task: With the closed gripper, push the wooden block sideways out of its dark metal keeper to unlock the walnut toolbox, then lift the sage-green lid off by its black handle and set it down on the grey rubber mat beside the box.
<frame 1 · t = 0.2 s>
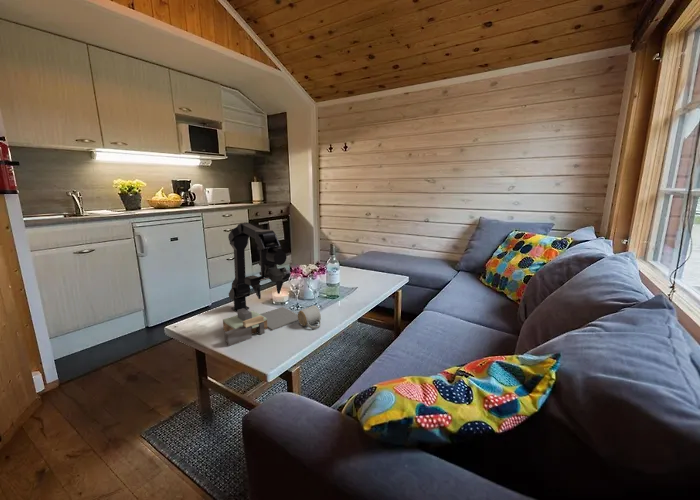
hand: (269, 296, 136), 14 cm above the table, fingers open, 9 cm apart
ceramic mug: (311, 325, 142), on the table
toolbox lid: (245, 320, 136), point 4 cm above the table, touching toolbox
toolbox: (245, 329, 137), on the table
wooden block: (253, 321, 131), point 6 cm above the table, slide at 0.0 cm
rubber mat: (277, 318, 148), on the table
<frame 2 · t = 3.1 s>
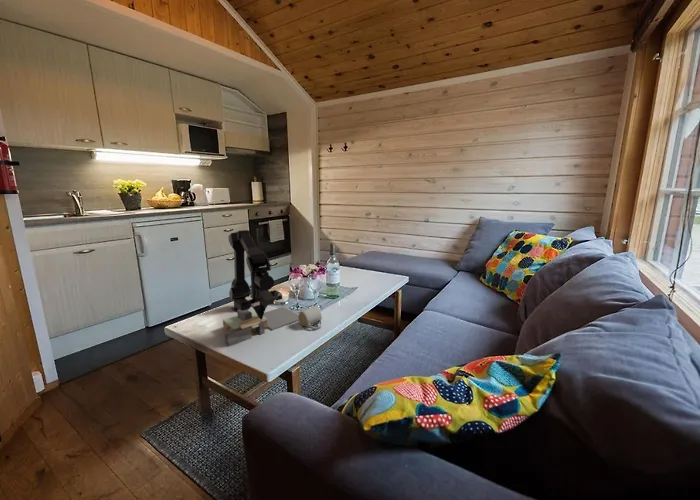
hand: (260, 319, 133), 6 cm above the table, fingers closed
wooden block: (249, 322, 129), point 6 cm above the table, slide at 1.6 cm, touching gripper
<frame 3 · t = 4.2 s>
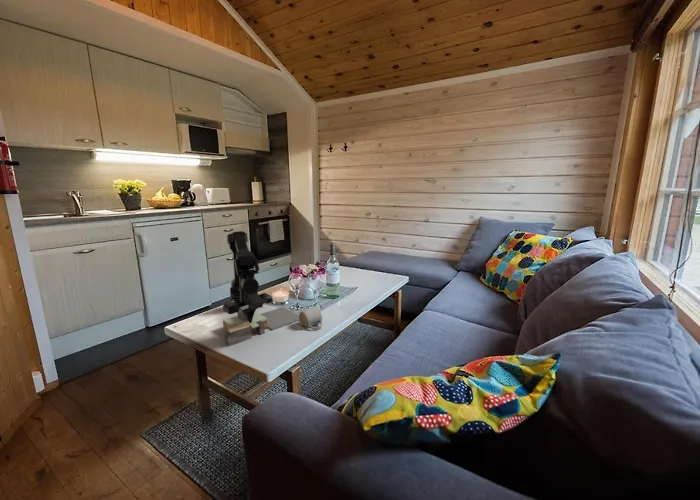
hand: (249, 322, 129), 6 cm above the table, fingers closed
wooden block: (238, 326, 126), point 6 cm above the table, slide at 6.5 cm, touching gripper
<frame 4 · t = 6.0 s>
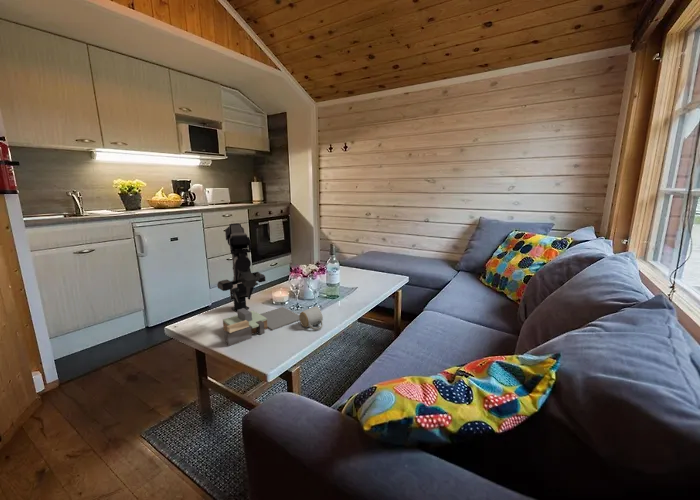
hand: (243, 300, 134), 13 cm above the table, fingers open, 4 cm apart
wooden block: (238, 326, 126), point 6 cm above the table, slide at 6.6 cm
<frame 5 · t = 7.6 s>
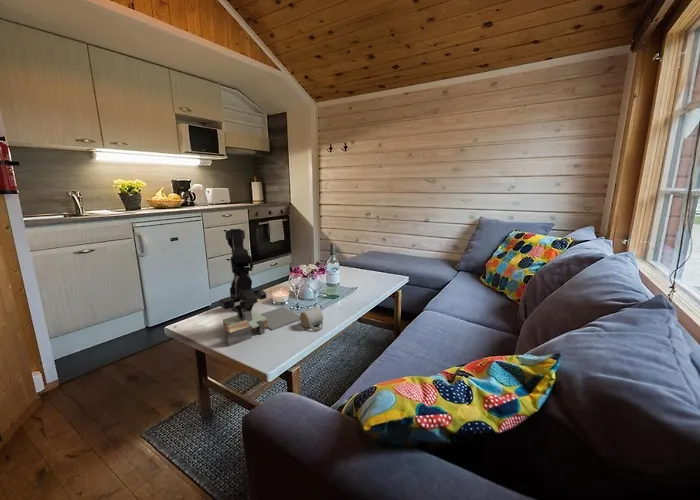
hand: (244, 317, 136), 5 cm above the table, fingers closed on toolbox lid, 3 cm apart
toolbox lid: (245, 320, 136), point 4 cm above the table, touching gripper, toolbox
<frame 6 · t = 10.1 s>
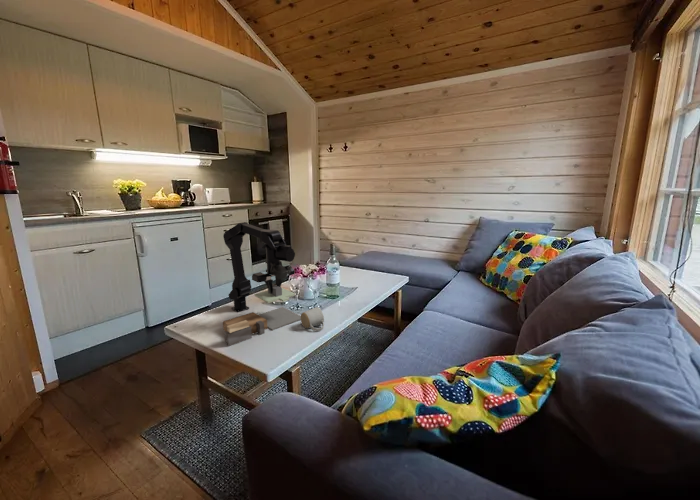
hand: (274, 292, 145), 13 cm above the table, fingers closed on toolbox lid, 3 cm apart
toolbox lid: (275, 295, 145), point 11 cm above the table, touching gripper
when the fingers open (4 cm above the table, at t = 12.2 s): toolbox lid drops 1 cm, resting on rubber mat.
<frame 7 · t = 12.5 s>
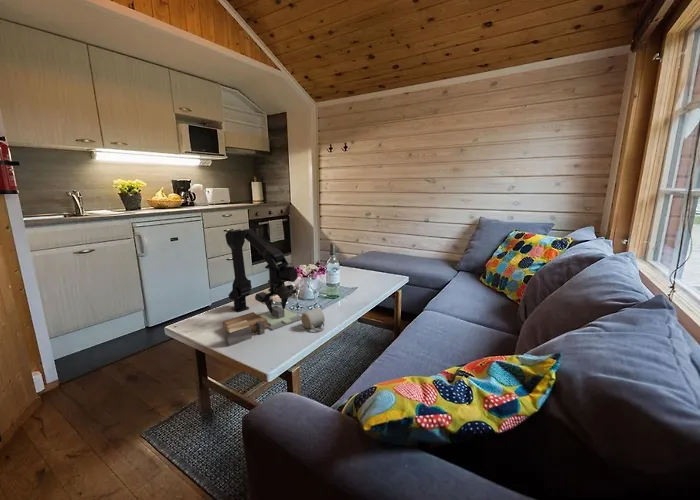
hand: (277, 310, 147), 4 cm above the table, fingers open, 6 cm apart
toolbox lid: (277, 317, 148), point 1 cm above the table, touching rubber mat
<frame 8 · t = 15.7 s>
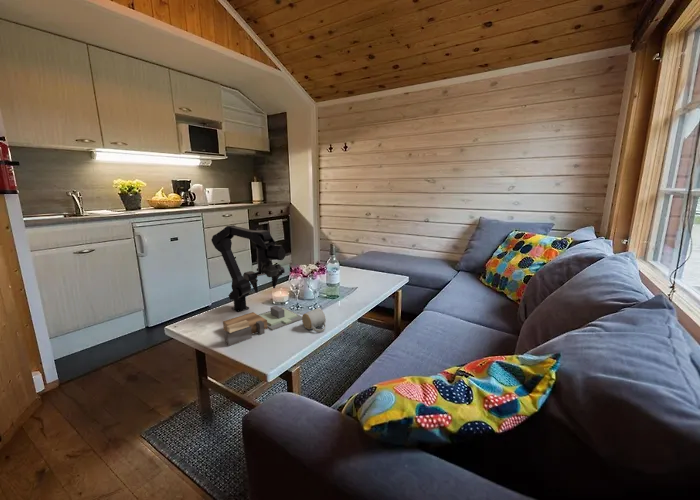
hand: (265, 290, 150), 12 cm above the table, fingers open, 9 cm apart
at the end: wooden block slide at 6.6 cm; toolbox lid inside the target area on the rubber mat (0.0 cm from its centre), point 0.6 cm above the rubber mat's base; toolbox lid tilted 0° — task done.
